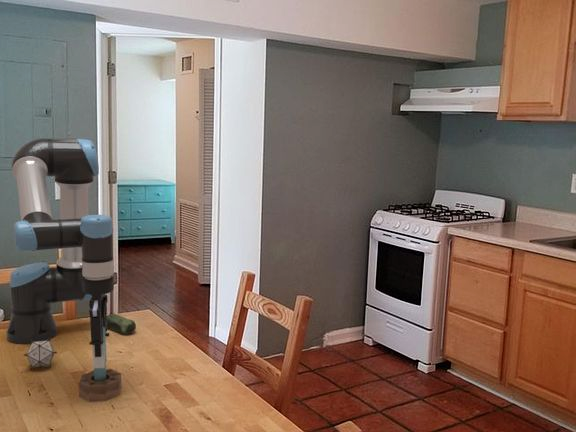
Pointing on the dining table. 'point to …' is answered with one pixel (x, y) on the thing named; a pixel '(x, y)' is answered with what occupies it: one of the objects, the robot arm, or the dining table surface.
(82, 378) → the bead
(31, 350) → the game die
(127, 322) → the vegetable
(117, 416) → the dining table surface
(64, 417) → the dining table surface
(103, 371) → the teal rounded stick
